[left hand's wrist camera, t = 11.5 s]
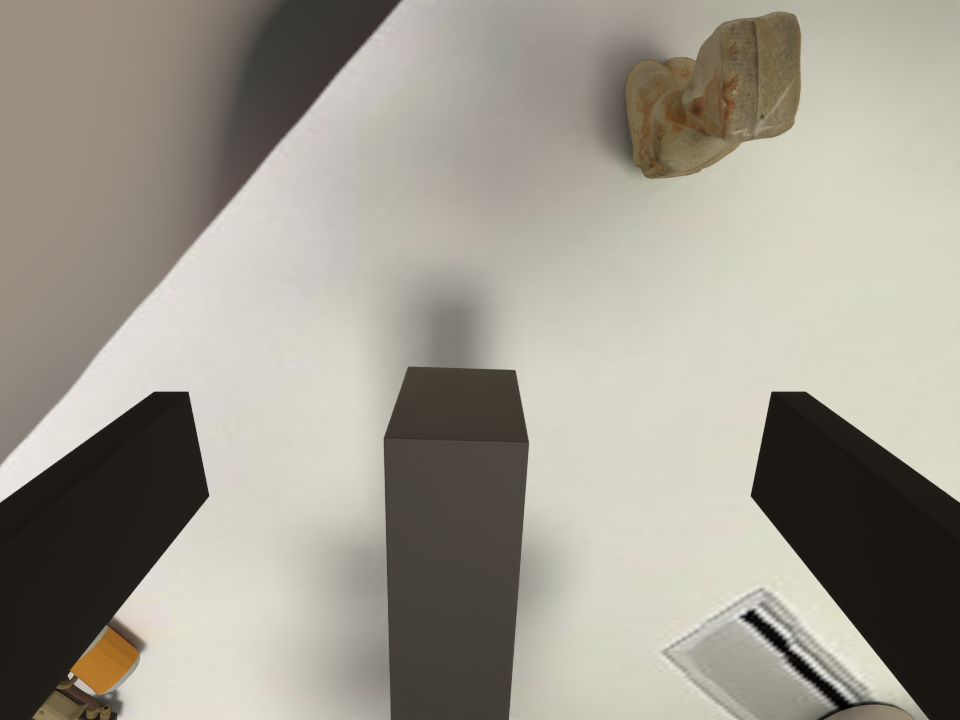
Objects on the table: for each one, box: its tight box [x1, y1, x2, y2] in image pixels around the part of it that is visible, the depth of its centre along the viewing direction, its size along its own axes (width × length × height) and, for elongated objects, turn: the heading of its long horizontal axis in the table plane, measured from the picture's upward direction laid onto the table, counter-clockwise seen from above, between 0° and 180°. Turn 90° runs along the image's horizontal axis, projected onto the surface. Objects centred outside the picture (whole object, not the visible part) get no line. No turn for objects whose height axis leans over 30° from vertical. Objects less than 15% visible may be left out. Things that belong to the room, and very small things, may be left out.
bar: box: [384, 367, 529, 720], centre depth 31 cm, size 28×6×8 cm, turn 178°
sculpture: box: [625, 12, 801, 179], centre depth 30 cm, size 6×7×15 cm
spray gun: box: [31, 625, 140, 720], centre depth 52 cm, size 4×17×15 cm
